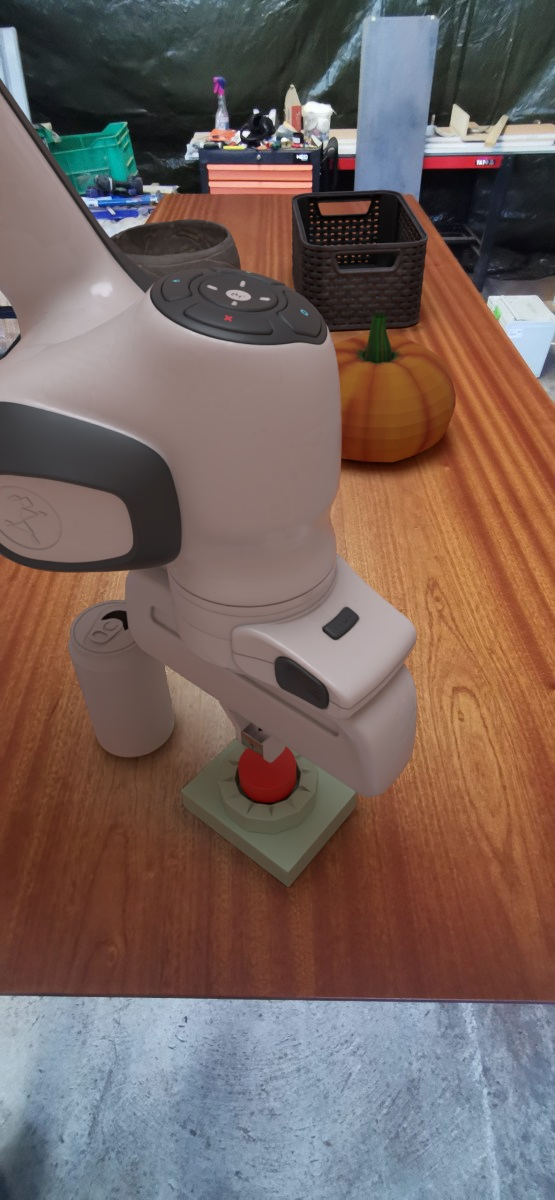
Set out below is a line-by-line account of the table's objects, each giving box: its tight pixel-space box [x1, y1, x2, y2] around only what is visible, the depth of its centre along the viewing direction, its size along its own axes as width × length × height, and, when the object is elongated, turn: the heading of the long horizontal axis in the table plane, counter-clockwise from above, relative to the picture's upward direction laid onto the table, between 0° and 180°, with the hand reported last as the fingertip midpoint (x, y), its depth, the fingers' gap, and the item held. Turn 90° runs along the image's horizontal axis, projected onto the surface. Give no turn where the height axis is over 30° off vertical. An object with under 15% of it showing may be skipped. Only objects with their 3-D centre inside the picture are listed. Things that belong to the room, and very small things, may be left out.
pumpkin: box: [333, 313, 457, 463], centre depth 88 cm, size 19×19×15 cm
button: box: [238, 747, 296, 803], centre depth 51 cm, size 4×4×2 cm
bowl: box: [109, 218, 242, 281], centre depth 113 cm, size 21×21×15 cm
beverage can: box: [67, 599, 176, 758], centre depth 56 cm, size 6×6×12 cm
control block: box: [180, 737, 358, 888], centre depth 53 cm, size 10×8×4 cm
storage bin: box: [291, 189, 429, 332], centre depth 124 cm, size 29×19×13 cm
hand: (261, 745), depth 49 cm, fingers closed
